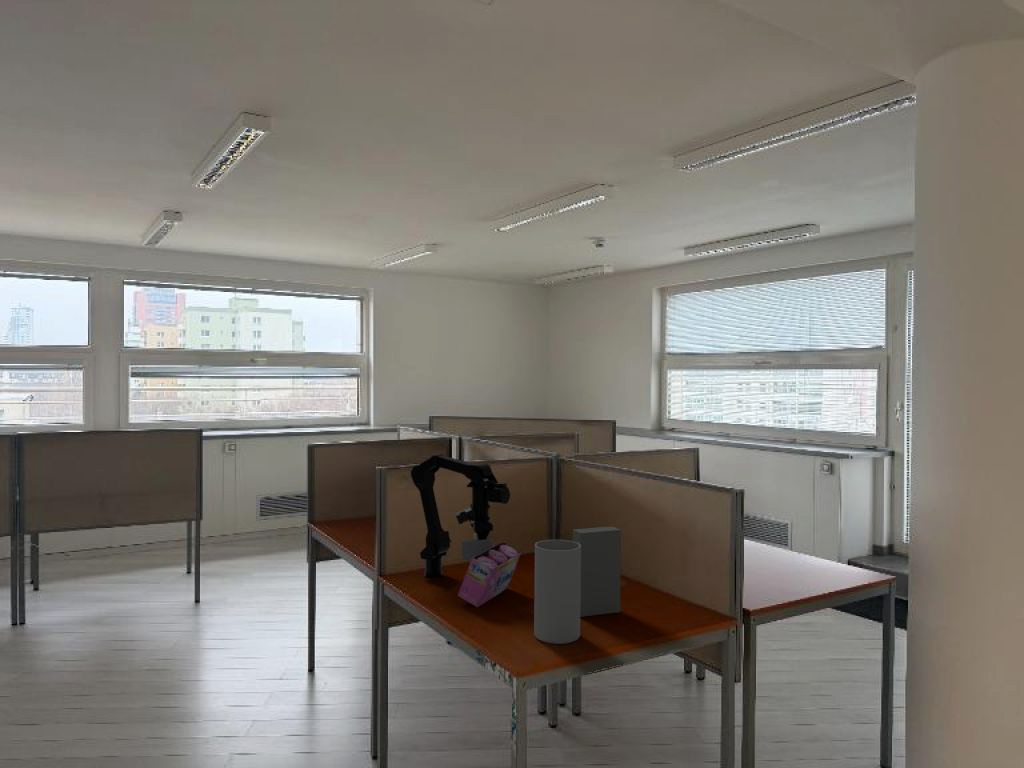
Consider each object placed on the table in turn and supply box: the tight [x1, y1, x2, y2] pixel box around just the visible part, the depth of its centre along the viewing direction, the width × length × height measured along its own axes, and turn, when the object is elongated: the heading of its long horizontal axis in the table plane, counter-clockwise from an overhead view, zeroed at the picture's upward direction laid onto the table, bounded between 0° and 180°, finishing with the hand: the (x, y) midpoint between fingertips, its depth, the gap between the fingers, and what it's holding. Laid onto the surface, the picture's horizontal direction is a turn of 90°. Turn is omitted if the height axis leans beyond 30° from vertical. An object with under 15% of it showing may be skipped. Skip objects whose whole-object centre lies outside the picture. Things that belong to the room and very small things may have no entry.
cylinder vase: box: [533, 539, 581, 645], centre depth 194 cm, size 12×12×25 cm
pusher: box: [461, 532, 494, 561], centre depth 240 cm, size 10×10×7 cm
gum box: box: [457, 541, 522, 608], centre depth 229 cm, size 24×8×14 cm, turn 156°
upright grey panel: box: [572, 526, 622, 618], centre depth 215 cm, size 14×6×25 cm, turn 111°
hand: (480, 546), depth 243 cm, fingers closed on pusher, 3 cm apart
